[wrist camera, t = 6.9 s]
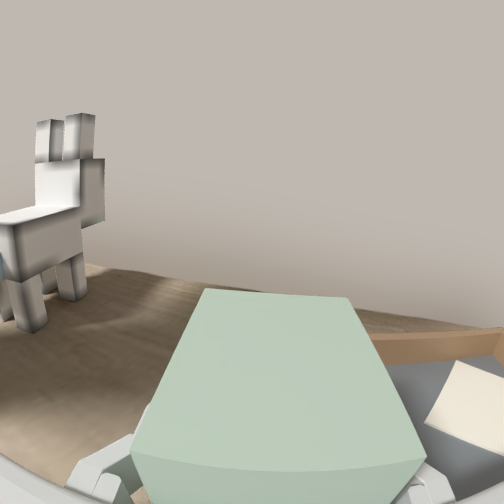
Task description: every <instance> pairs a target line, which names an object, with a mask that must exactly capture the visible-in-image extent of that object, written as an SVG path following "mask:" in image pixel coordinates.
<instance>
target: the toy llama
mask: <svg viewBox="0 0 504 504" xmlns="http://www.w3.org/2000/svg"><path fill="white" fill-rule="evenodd" d="M63 125H64V121H62V120H53V119H50V120H45V121H41V122H37V130H36V148H35V198H36V206H32V207H28V208H24V209H20V210H16V211H13V212H9V213H6V214H2V215H0V321H2V322H4V321H6V320H7V319H9V318H10V317H12V316H13V315H14V317H15V321H16V324H17V328H19V329H22V330H25V331H27V332H30V333H32V334H34V333H35V332H36V331H38V330H39V329H40V328H41V327H43V326H44V325H45V324H47V323H48V318H47V313H46V309H45V304H44V300H43V295H42V294H45V295H46V294H48V293H49V292H51V291H52V290H54V289H56V288H57V287H58V290H59V296H60V298H61V299H65V300H69V301H74V302H77V301H78V300H79V299H81V298H82V297H84V296H85V295H86V294H88V290H87V283H86V275H85V267H84V258H83V249H82V234H81V229H83V228H86V227H88V226H91V225H94V224H96V223H99V222H102V221H105V207H104V166H105V159H93V143H94V127H95V115H91V114H85V113H80V114H74V115H69V116H66V120H65V134H64V155H63V161H62V143H63ZM55 271H56V272H55ZM56 278H57V279H56ZM57 284H58V285H57Z"/></svg>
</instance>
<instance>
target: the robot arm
mask: <svg viewBox="0 0 504 504" xmlns="http://www.w3.org/2000/svg"><path fill="white" fill-rule="evenodd" d="M150 403H151V402H150ZM150 403H149V404H148V405H147V406H146V408H145V410H144V413H143V415H142V417H141V419H140V421H139V423H138V426H137V428H136V430H135V432H134V434H128V435H126V436H124V437H123V438H121V439H119V440H117V441H115V442H114V443H112V444H110V445H108V446H106V447H104V448H103V449H101V450H99V451H97V452H95V453H93V454H91V455H89V456H87V457H85V458H83V459H81V460H80V461H78V463H77V465H76V466H75V468H74V470H73V472H72V474H71V475H70V477H69V479H68V481H67V483H66V485H65V486H64V487H62V486H59V485H57V484H55V483H53V482H51V481H49V480H47V479H45V478H43V477H41V476H39V475H37V474H36V473H34V472H32V471H30V470H28V469H27V468H25V467H23V466H21V465H20V464H18V463H16V462H15V461H13V460H11V459H10V458H8V457H6V456H5V455H3V454H2V453H0V504H134V502H133V501H132V499H131V497H130V495H131V494H133V493H134V492H135V491H137V490H138V489H139V488H140V487H142V486H143V483H142V481H141V478H140V476H139V474H138V471H137V469H136V467H135V464H134V462H133V459H132V456H131V454H130V451H129V449H130V447H131V445H132V443H133V440H134V438H135V436H136V434H137V431H138V429H139V427H140V425H141V423H142V420H143V418H144V416H145V414H146V411H147V409H148V407H149V405H150ZM390 504H504V481H503V482H501V483H499V484H497V485H495V486H492V487H490V488H488V489H486V490H484V491H482V492H479V493H477V494H475V495H473V496H470V497H468V498H465V499H463V500H460V501H458V502H457V501H456V499H455V496H454V494H453V491H452V489H451V487H450V484H449V482H448V480H447V477H446V476H445V475H443V474H442V473H440V472H439V471H437V470H436V469H434V468H433V467H431V466H430V465H428V464H427V463H425V462H423V463H422V464H421V466H420V467H419V468H418V470H417V471H416V472H415V474H414V475H413V476H412V478H411V479H410V480H409V481H408V483H407V484H406V485H405V486H404V487H403V489H402V490H401V491H400V492H399V493H398V495H397V496H396V497H395V498H394V499H393V500H392V502H391V503H390Z"/></svg>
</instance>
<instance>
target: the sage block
mask: <svg viewBox="0 0 504 504" xmlns="http://www.w3.org/2000/svg"><path fill="white" fill-rule="evenodd" d="M129 451H130V454H131V456H132V459H133V462H134V464H135V467H136V469H137V471H138V474H139V476H140V478H141V481H142V483H143V485H144V488H145V490H146V492H147V494H148V496H149V498H150V501H151V503H152V504H390V503H391V502H392V500H393V499H394V498H395V497H396V496H397V495H398V493H399V492H400V491H401V490H402V489H403V487H404V486H405V485H406V484H407V483H408V481H409V480H410V479H411V478H412V476H413V475H414V474H415V472H416V471H417V470H418V468H419V467H420V466H421V464H422V463H423V462H424V460H425V459H426V457H427V455H426V453H425V450H424V448H423V446H422V444H421V441H420V439H419V437H418V435H417V432H416V430H415V428H414V426H413V424H412V422H411V419H410V417H409V415H408V413H407V411H406V409H405V407H404V405H403V403H402V401H401V398H400V396H399V394H398V392H397V390H396V388H395V386H394V384H393V382H392V380H391V378H390V376H389V374H388V372H387V370H386V368H385V366H384V364H383V362H382V361H381V359H380V357H379V355H378V353H377V351H376V349H375V347H374V345H373V343H372V341H371V340H370V338H369V336H368V334H367V332H366V330H365V328H364V327H363V325H362V323H361V321H360V319H359V317H358V316H357V314H356V312H355V310H354V308H353V307H352V305H351V303H350V301H349V299H348V298H347V297H327V296H309V295H291V294H276V293H261V292H247V291H234V290H222V289H210V288H205V289H204V291H203V293H202V295H201V297H200V299H199V302H198V304H197V306H196V308H195V310H194V312H193V314H192V316H191V318H190V320H189V322H188V324H187V326H186V328H185V330H184V332H183V335H182V337H181V339H180V341H179V343H178V345H177V347H176V349H175V351H174V353H173V356H172V358H171V360H170V362H169V364H168V366H167V368H166V370H165V373H164V375H163V377H162V379H161V381H160V383H159V385H158V388H157V390H156V392H155V394H154V396H153V398H152V401H151V403H150V405H149V407H148V409H147V411H146V414H145V416H144V418H143V420H142V423H141V425H140V427H139V429H138V431H137V434H136V436H135V438H134V440H133V443H132V445H131V447H130V449H129Z"/></svg>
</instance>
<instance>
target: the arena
mask: <svg viewBox="0 0 504 504" xmlns="http://www.w3.org/2000/svg"><path fill="white" fill-rule="evenodd" d="M367 334H368V336H369V338H370V340H371V341H372V343H373V345H374V347H375V349H376V351H377V353H378V355H379V357H380V359H381V361H382V362H383V364H384V366H385V368H386V370H387V372H388V374H389V376H390V378H391V380H392V382H393V384H394V386H395V388H396V390H397V392H398V394H399V396H400V398H401V401H402V403H403V405H404V407H405V409H406V411H407V413H408V415H409V417H410V419H411V422H412V424H413V426H414V428H415V430H416V432H417V435H418V437H419V439H420V441H421V444H422V446H423V448H424V450H425V453H426V455H427V457H426V459H425V460H424V462H425V463H427V464H428V465H430V466H431V467H433V468H434V469H436V470H437V471H439V472H440V473H442V474H443V475H445V476H446V477H447V480H448V482H449V484H450V487H451V489H452V491H453V494H454V496H455V499H456V501H457V502H458V501H460V500H463V499H465V498H468V497H470V496H473V495H475V494H477V493H479V492H482V491H484V490H486V489H488V488H490V487H492V486H495V485H497V484H499V483H501V482H503V481H504V328H502V327H497V328H486V329H474V330H459V331H442V332H418V333H367Z"/></svg>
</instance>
